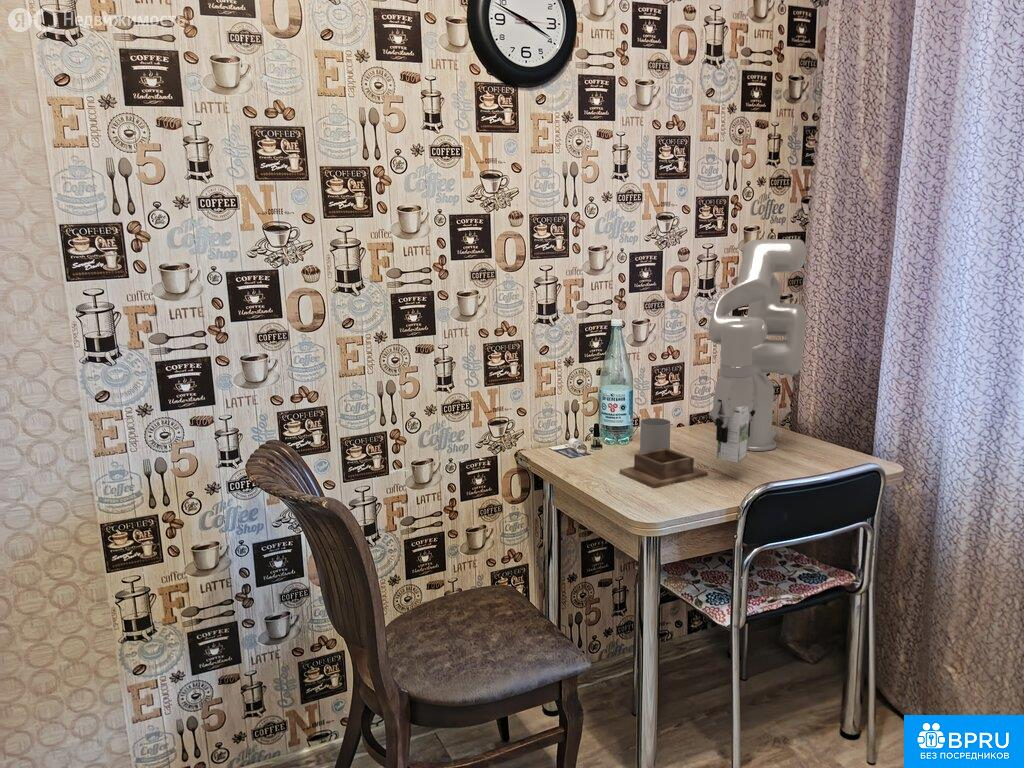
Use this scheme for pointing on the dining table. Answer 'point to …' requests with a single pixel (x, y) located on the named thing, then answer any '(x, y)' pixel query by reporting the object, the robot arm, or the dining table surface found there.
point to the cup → (654, 434)
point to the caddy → (662, 468)
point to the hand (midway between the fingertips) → (733, 438)
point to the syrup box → (735, 436)
